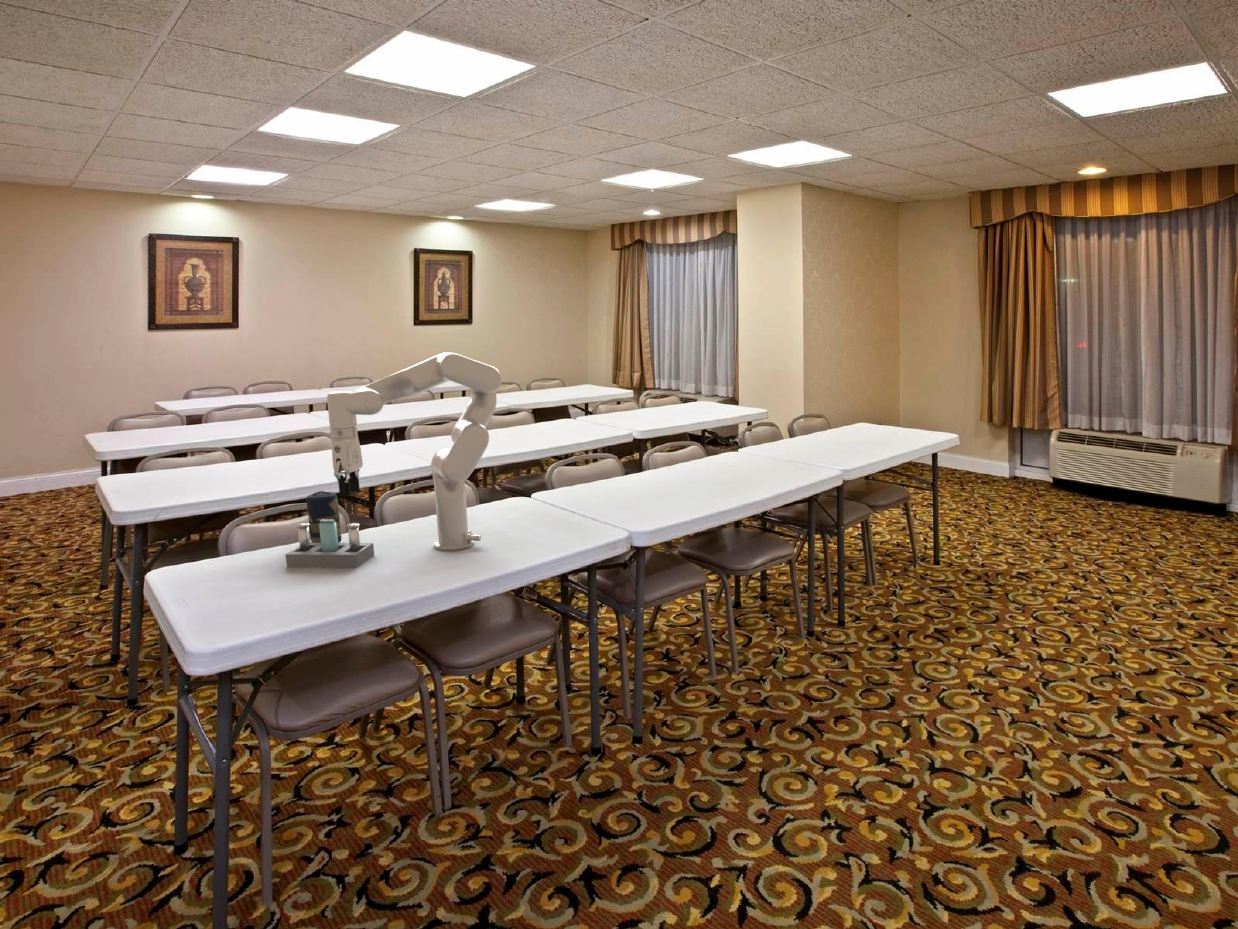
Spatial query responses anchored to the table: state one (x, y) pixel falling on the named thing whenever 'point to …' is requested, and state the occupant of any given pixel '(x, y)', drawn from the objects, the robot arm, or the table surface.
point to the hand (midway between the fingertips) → (349, 492)
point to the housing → (330, 556)
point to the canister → (322, 513)
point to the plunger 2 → (354, 536)
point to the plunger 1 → (303, 536)
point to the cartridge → (328, 535)
